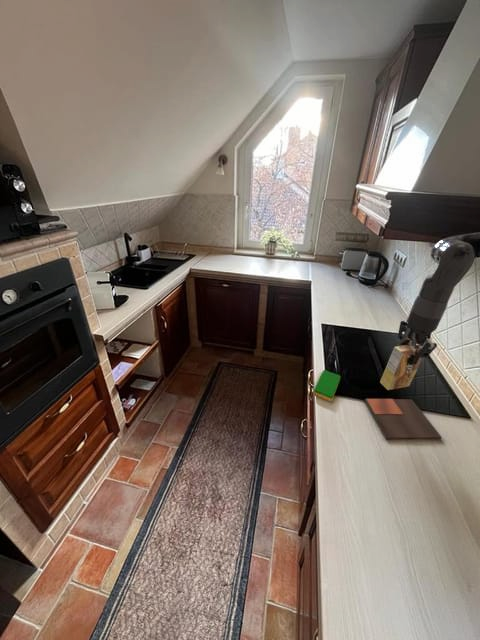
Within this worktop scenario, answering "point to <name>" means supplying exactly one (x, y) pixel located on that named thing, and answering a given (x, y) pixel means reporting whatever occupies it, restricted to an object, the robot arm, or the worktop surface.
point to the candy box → (399, 368)
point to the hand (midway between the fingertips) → (406, 358)
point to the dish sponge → (327, 385)
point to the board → (401, 419)
